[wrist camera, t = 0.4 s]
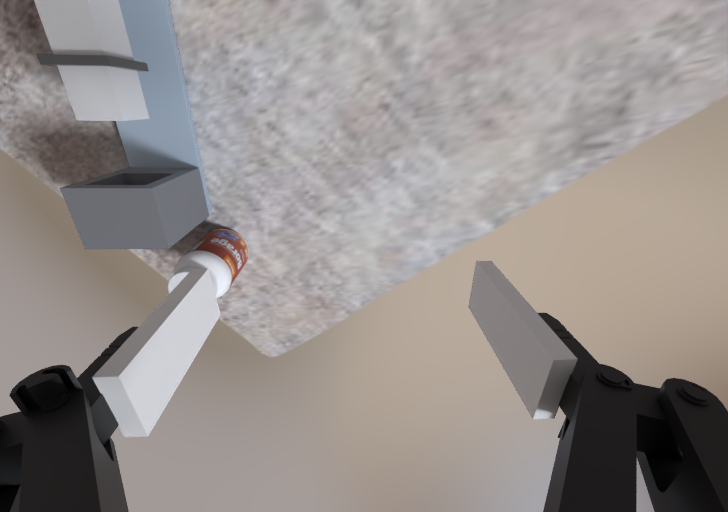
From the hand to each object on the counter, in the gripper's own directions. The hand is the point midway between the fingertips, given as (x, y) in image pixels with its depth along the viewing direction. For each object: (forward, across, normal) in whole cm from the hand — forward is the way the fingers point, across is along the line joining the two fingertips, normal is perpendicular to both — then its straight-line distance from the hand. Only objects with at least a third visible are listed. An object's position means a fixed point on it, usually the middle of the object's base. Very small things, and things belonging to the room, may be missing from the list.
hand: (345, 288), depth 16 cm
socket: (+26, -22, -2) cm, 34 cm away
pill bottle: (+27, -17, -10) cm, 33 cm away
